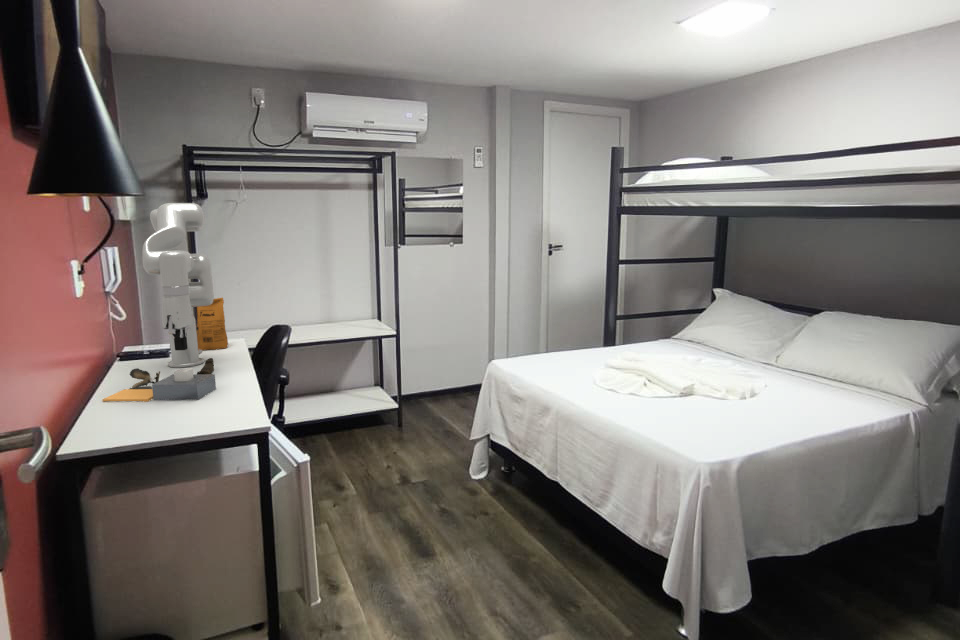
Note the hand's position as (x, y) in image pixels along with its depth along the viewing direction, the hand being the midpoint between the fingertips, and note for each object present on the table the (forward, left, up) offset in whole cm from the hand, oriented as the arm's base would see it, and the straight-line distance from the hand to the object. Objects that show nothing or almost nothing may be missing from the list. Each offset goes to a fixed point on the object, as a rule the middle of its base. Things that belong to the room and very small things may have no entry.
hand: (181, 349), depth 185 cm
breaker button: (0, 0, -11) cm, 11 cm away
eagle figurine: (-9, -18, -15) cm, 25 cm away
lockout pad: (+2, -15, -15) cm, 21 cm away
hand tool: (-25, -6, -15) cm, 30 cm away
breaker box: (0, 0, -15) cm, 15 cm away
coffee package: (-70, -24, -15) cm, 76 cm away
